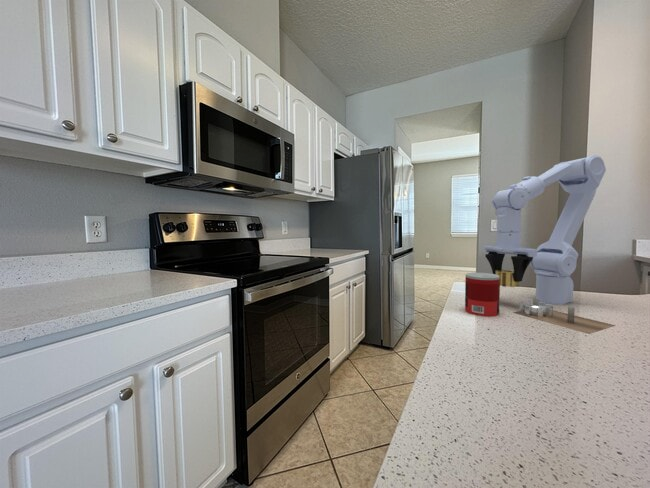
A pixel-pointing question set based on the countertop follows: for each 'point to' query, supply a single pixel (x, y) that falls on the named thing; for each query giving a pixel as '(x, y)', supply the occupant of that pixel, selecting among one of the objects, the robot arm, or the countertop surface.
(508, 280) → the brass gear
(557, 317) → the gear board
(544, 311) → the gear
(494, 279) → the canned food
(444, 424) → the countertop surface
